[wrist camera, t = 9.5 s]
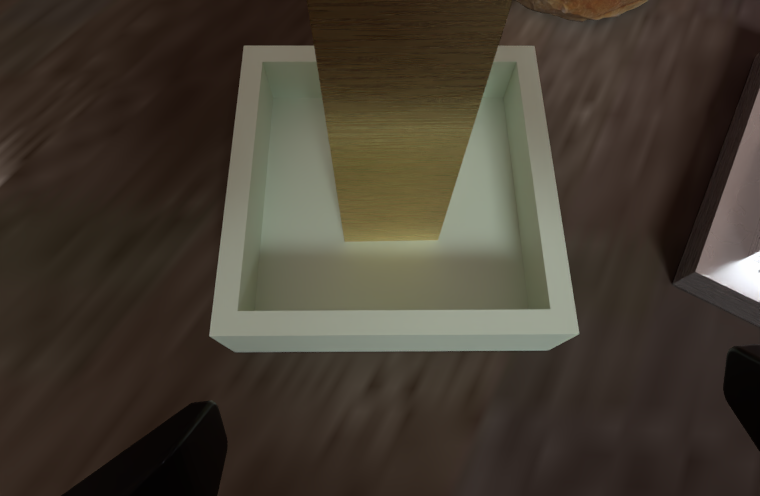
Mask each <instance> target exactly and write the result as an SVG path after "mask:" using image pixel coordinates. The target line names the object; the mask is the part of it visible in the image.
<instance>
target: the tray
mask: <svg viewBox="0 0 760 496" xmlns="http://www.w3.org/2000/svg"><path fill="white" fill-rule="evenodd" d="M578 334H579V329H578V323H577V316H576V310H575V303H574V297H573V290H572V284H571V277H570V271H569V265H568V258H567V252H566V245H565V239H564V232H563V226H562V219H561V213H560V207H559V200H558V194H557V187H556V181H555V174H554V168H553V162H552V155H551V149H550V142H549V136H548V129H547V123H546V116H545V110H544V104H543V97H542V91H541V84H540V78H539V71H538V65H537V59H536V52H535V46H498V48H497V52H496V55H495V58H494V61H493V64H492V68H491V71H490V74H489V77H488V81H487V84H486V87H485V90H484V93H483V97H482V100H481V103H480V106H479V110H478V113H477V116H476V119H475V123H474V126H473V129H472V132H471V135H470V139H469V142H468V145H467V148H466V152H465V155H464V158H463V161H462V164H461V168H460V171H459V174H458V177H457V181H456V184H455V187H454V190H453V193H452V197H451V200H450V203H449V206H448V210H447V213H446V216H445V219H444V222H443V226H442V229H441V232H440V235H439V239H438V240H416V241H361V242H345V241H344V235H343V228H342V222H341V216H340V209H339V203H338V196H337V190H336V183H335V177H334V171H333V164H332V158H331V151H330V145H329V138H328V132H327V126H326V119H325V113H324V106H323V100H322V94H321V87H320V81H319V74H318V68H317V61H316V55H315V49H314V46H244V49H243V57H242V66H241V74H240V82H239V91H238V99H237V108H236V116H235V124H234V133H233V141H232V149H231V158H230V166H229V175H228V183H227V191H226V200H225V208H224V217H223V225H222V233H221V242H220V250H219V259H218V267H217V275H216V284H215V292H214V300H213V309H212V317H211V326H210V334H209V336H210V337H211V338H213V339H215V340H216V341H218V342H219V343H221V344H222V345H224V346H226V347H227V348H229V349H230V350H232V351H234V352H366V351H533V350H550V349H552V348H554V347H556V346H558V345H559V344H561V343H563V342H565V341H567V340H569V339H571V338H573V337H575V336H577V335H578Z"/></svg>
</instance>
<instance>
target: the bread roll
mask: <svg viewBox="0 0 760 496" xmlns="http://www.w3.org/2000/svg"><path fill="white" fill-rule="evenodd" d="M515 1H517V2H519V3H520V4H522V5H523V6H525V7H527V8H528V9H531V10H534V11H537V12H541V13H548V14H552V15H554V16H559V17H561V18H564V19H567V20H571V21H579V22H583V21H585V20H588V19H589V20H599V19H602V18H609V17H618V16H619V15H620V14H622V13H624V12H626V11H628V10H631V9H634V8H636V7H638V6H640V5H642V4H644V3H645V2H647V1H648V0H515Z"/></svg>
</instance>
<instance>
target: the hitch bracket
mask: <svg viewBox="0 0 760 496" xmlns="http://www.w3.org/2000/svg"><path fill="white" fill-rule="evenodd" d="M672 284H673V285H675V286H677V287H679V288H681V289H683V290H685V291H687V292H689V293H692V294H694V295H696V296H698V297H700V298H702V299H704V300H706V301H708V302H710V303H712V304H714V305H716V306H718V307H720V308H722V309H724V310H726V311H728V312H730V313H732V314H735V315H737V316H739V317H741V318H743V319H745V320H747V321H749V322H751V323H753V324H755V325H757V326H759V327H760V52H759V53H758V54H757V55H756V56H755V59H754V61H753V64H752V67H751V70H750V72H749V75H748V78H747V81H746V83H745V86H744V89H743V92H742V94H741V97H740V100H739V103H738V105H737V108H736V111H735V113H734V116H733V119H732V122H731V124H730V127H729V130H728V133H727V135H726V138H725V141H724V144H723V146H722V149H721V152H720V155H719V157H718V160H717V163H716V166H715V168H714V171H713V174H712V176H711V179H710V182H709V185H708V187H707V190H706V193H705V196H704V198H703V201H702V204H701V207H700V209H699V212H698V215H697V218H696V220H695V223H694V226H693V229H692V231H691V234H690V237H689V239H688V242H687V245H686V248H685V250H684V253H683V256H682V259H681V261H680V264H679V267H678V270H677V272H676V275H675V278H674V281H673V283H672Z"/></svg>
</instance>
